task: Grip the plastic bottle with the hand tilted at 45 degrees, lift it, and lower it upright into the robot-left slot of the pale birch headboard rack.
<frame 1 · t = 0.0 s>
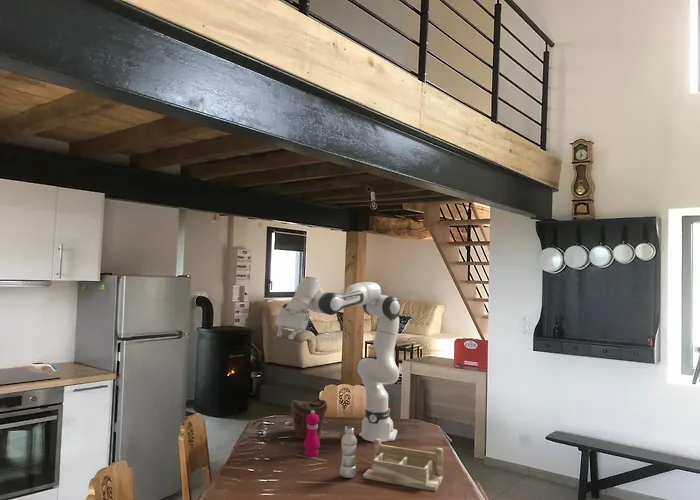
hand: (284, 337, 237), 54 cm above the table, tool tilted 30°, fingers open, 8 cm apart
case: (308, 434, 274), on the table
headboard rack: (402, 478, 220), on the table
pepper mill: (311, 454, 246), on the table
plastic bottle: (348, 477, 220), on the table
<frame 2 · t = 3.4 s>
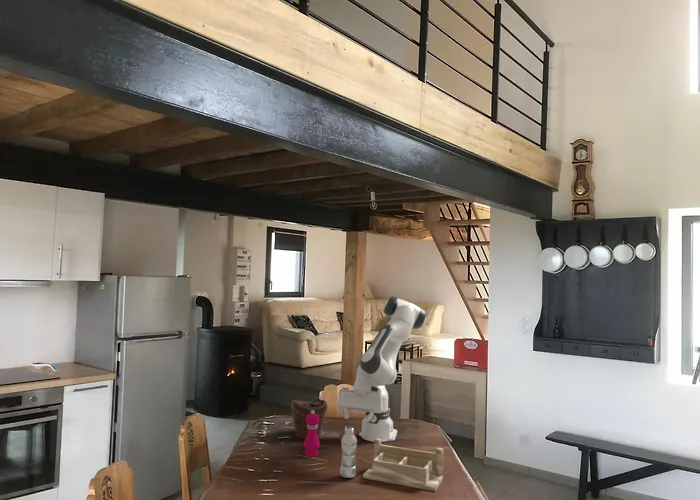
hand: (356, 419, 232), 21 cm above the table, tool tilted 45°, fingers open, 8 cm apart
nothing on the table moved.
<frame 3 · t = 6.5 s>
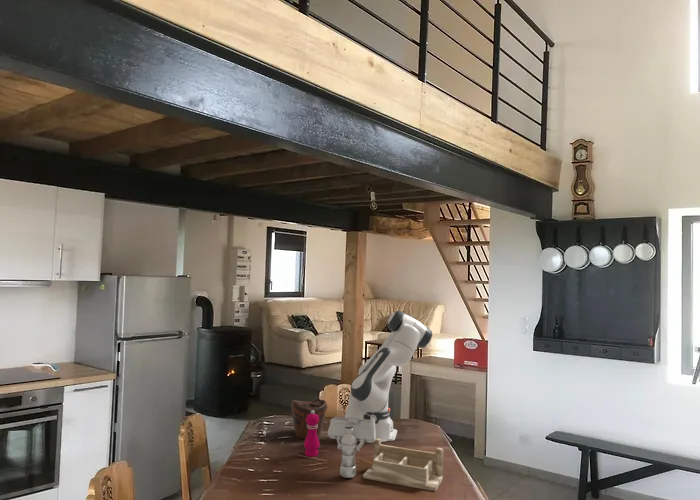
hand: (348, 449, 220), 11 cm above the table, tool tilted 45°, fingers closed on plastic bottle, 6 cm apart
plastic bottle: (348, 477, 220), on the table, touching gripper
everything else where it was.
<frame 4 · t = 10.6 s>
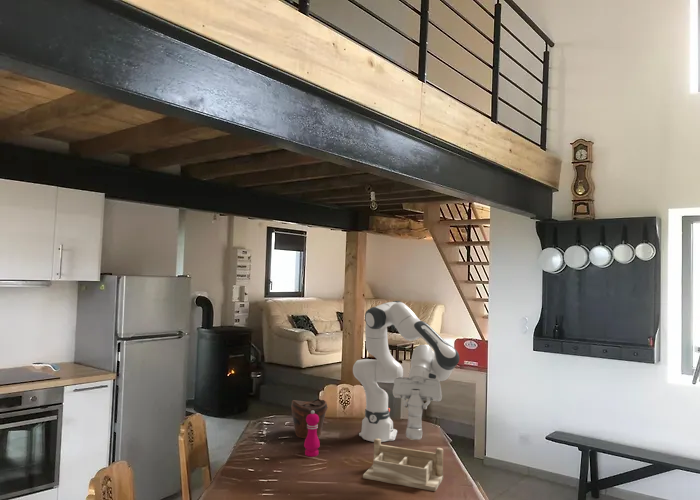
hand: (415, 407, 218), 30 cm above the table, tool tilted 45°, fingers closed on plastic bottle, 6 cm apart
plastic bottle: (413, 440, 217), point 17 cm above the table, touching gripper
everything else where it was.
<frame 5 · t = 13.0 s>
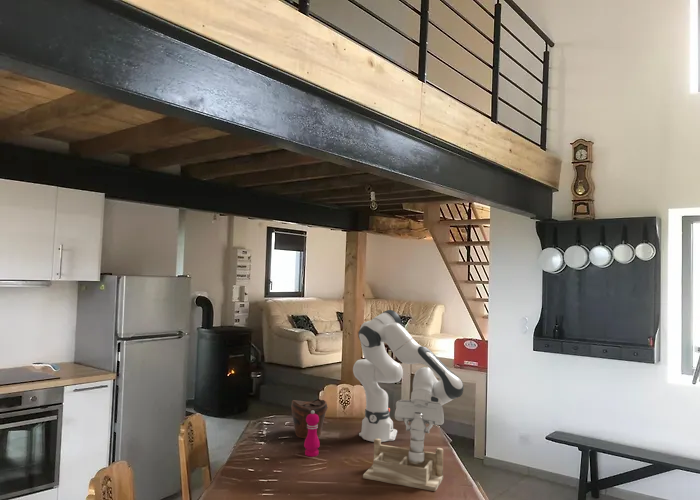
hand: (417, 431, 218), 20 cm above the table, tool tilted 45°, fingers closed on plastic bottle, 6 cm apart
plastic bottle: (415, 464, 217), point 7 cm above the table, touching gripper
everything else where it was.
when the fingers open (14 cm above the table, at t = 15.0 s): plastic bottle stays where it is, resting on headboard rack.
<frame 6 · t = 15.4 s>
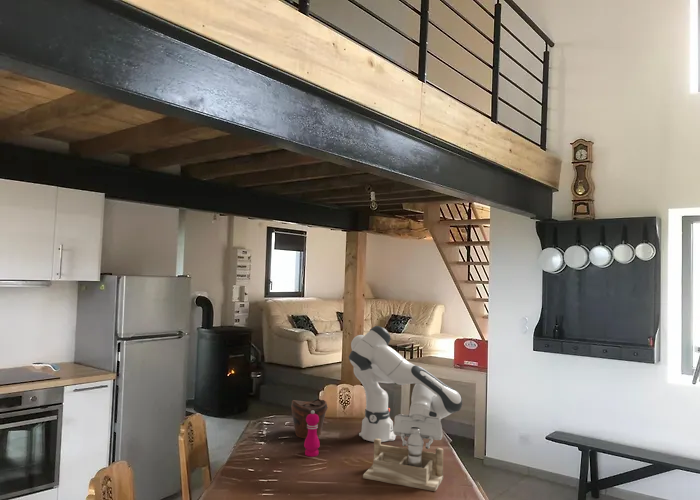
hand: (415, 446, 218), 14 cm above the table, tool tilted 45°, fingers open, 8 cm apart
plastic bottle: (414, 478, 217), point 1 cm above the table, touching headboard rack
everything else where it was.
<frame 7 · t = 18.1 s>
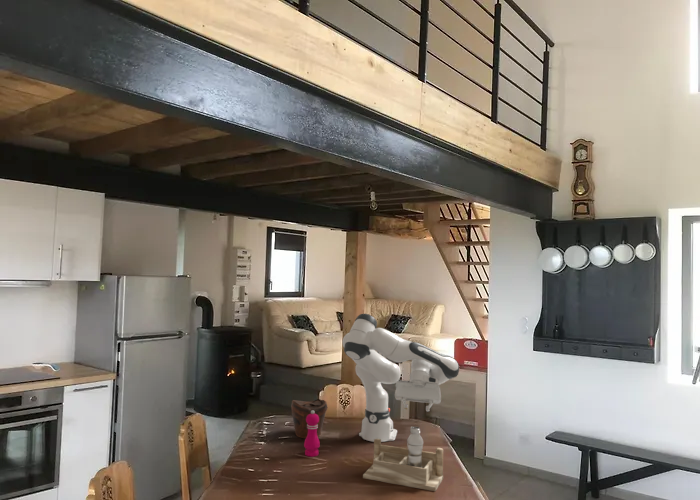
hand: (416, 409, 232), 25 cm above the table, tool tilted 45°, fingers open, 8 cm apart
nothing on the table moved.
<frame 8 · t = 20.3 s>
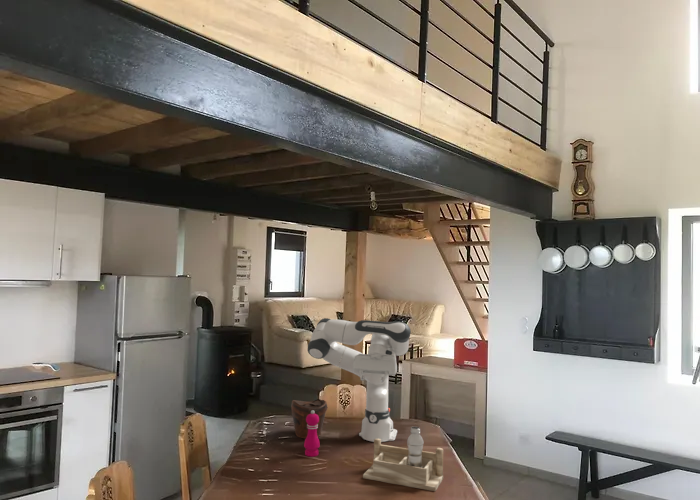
hand: (372, 380, 240), 35 cm above the table, tool tilted 45°, fingers open, 8 cm apart
nothing on the table moved.
at the end: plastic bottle 1.0 cm from the target spot on the headboard rack, point 1.3 cm above the headboard rack's base; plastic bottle tilted 0°; the gripper is holding nothing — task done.
